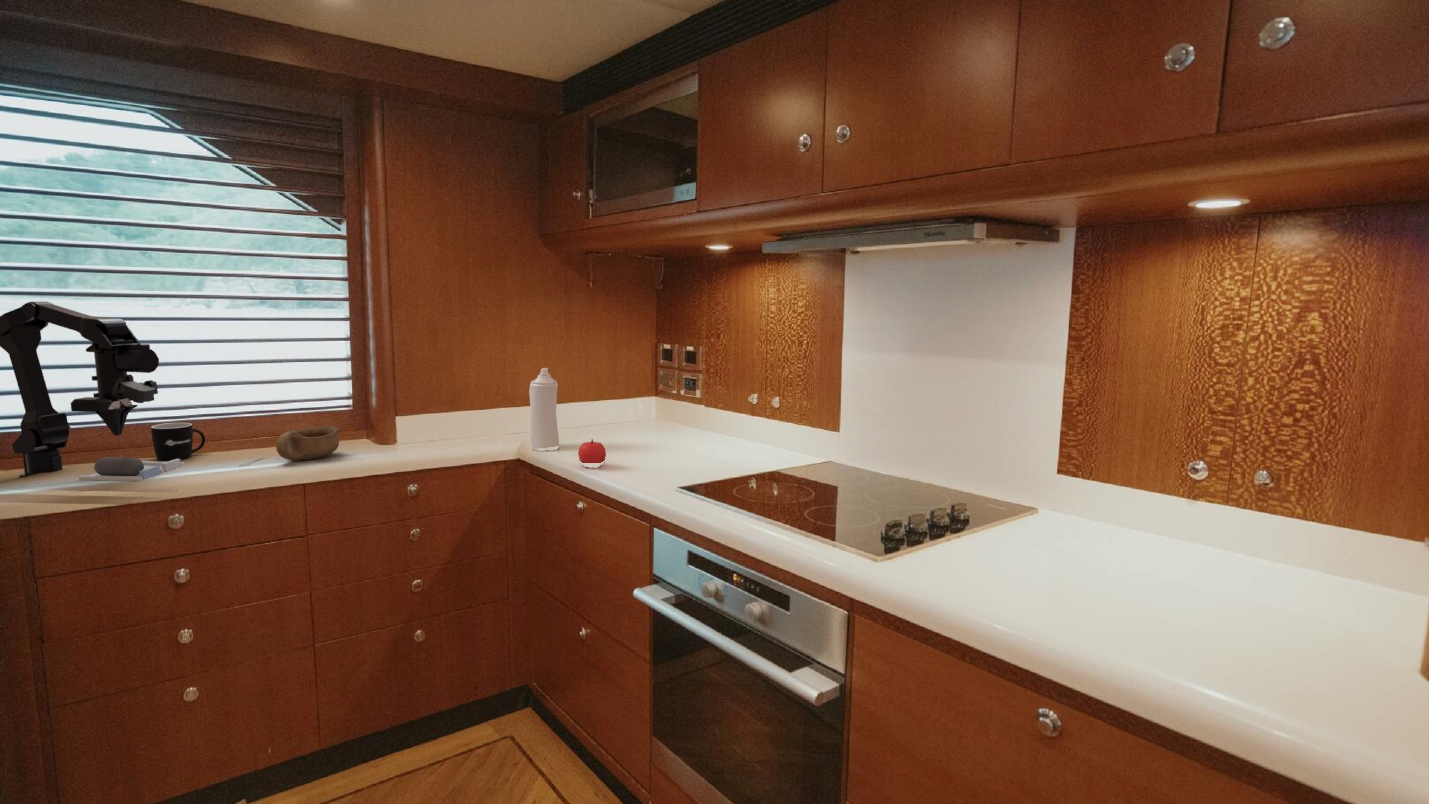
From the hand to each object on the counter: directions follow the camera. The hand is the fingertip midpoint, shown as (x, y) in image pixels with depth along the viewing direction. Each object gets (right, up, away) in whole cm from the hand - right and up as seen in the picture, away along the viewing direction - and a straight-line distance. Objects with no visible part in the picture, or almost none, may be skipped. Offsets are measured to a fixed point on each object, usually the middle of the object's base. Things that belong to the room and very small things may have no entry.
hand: (117, 435), depth 177 cm
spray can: (+91, -6, +54) cm, 106 cm away
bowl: (+30, -8, +30) cm, 43 cm away
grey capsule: (0, -10, +2) cm, 10 cm away
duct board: (0, -11, +5) cm, 12 cm away
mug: (-1, -8, +22) cm, 24 cm away
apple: (+110, -11, +31) cm, 115 cm away
